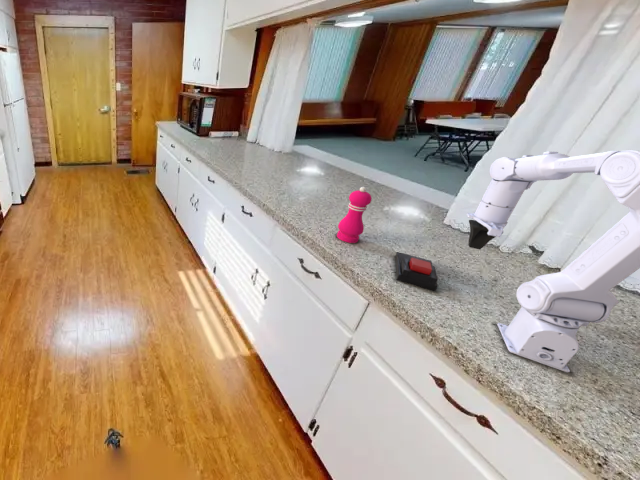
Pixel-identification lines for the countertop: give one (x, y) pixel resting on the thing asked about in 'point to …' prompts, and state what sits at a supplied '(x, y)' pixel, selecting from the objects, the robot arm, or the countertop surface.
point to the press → (414, 273)
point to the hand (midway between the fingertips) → (474, 247)
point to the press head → (420, 266)
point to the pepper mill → (354, 216)
